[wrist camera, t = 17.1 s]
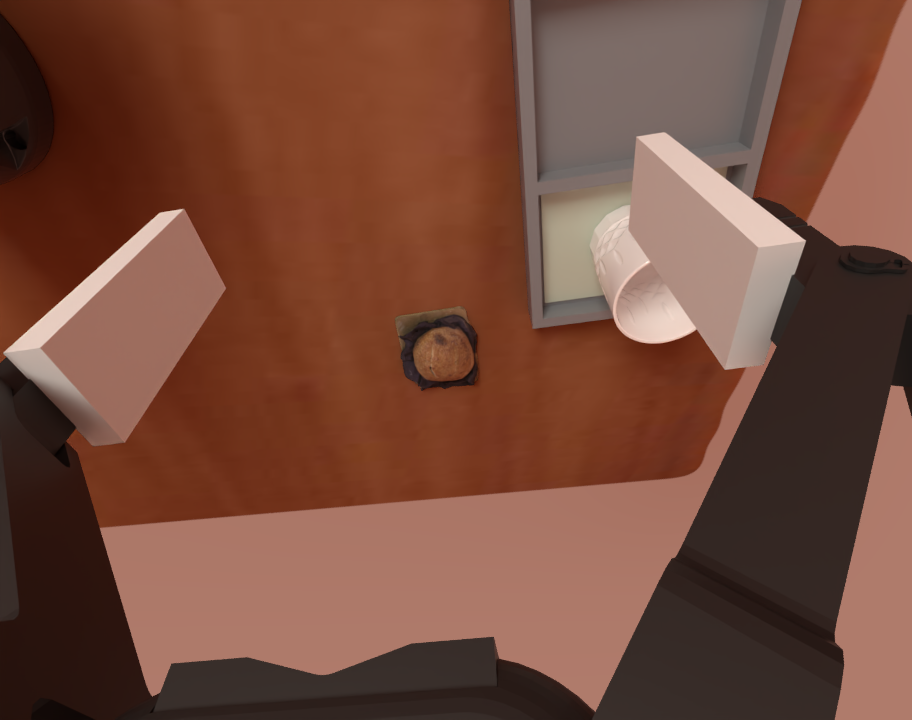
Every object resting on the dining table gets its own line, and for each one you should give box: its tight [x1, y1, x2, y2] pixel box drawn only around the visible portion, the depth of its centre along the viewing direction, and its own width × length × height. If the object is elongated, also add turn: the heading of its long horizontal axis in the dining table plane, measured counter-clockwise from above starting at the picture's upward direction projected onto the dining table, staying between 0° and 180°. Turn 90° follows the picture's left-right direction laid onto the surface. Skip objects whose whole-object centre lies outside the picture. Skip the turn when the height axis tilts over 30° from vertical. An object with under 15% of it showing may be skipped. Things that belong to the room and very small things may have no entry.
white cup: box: [590, 205, 697, 344], centre depth 39 cm, size 8×8×10 cm
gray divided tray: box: [509, 0, 802, 329], centre depth 38 cm, size 18×27×3 cm, turn 8°
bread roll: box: [395, 306, 479, 391], centre depth 51 cm, size 11×8×4 cm
